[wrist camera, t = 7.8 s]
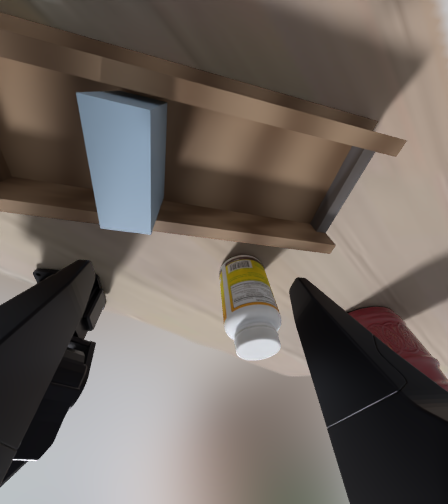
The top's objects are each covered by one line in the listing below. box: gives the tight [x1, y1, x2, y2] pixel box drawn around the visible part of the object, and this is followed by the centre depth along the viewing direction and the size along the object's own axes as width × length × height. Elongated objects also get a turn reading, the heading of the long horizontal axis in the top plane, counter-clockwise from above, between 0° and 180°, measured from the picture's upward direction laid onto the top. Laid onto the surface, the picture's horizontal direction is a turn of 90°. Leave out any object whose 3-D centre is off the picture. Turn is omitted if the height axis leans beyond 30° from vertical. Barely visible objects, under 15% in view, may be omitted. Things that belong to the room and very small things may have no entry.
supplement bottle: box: [219, 255, 281, 360], centre depth 22 cm, size 6×6×10 cm
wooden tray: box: [0, 12, 406, 254], centre depth 15 cm, size 28×11×5 cm, turn 78°
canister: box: [348, 307, 448, 391], centre depth 30 cm, size 13×13×18 cm
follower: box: [76, 91, 167, 235], centre depth 13 cm, size 3×7×6 cm, turn 168°
